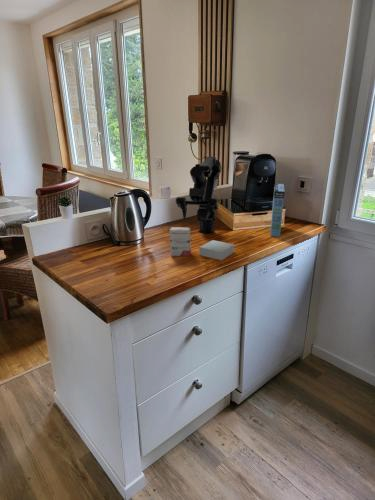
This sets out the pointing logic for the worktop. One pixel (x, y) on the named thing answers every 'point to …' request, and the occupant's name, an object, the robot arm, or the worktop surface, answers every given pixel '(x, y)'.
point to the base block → (216, 249)
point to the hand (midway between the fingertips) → (194, 220)
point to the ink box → (180, 241)
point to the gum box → (277, 210)
